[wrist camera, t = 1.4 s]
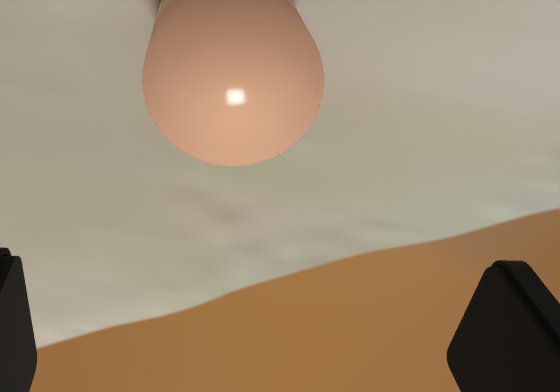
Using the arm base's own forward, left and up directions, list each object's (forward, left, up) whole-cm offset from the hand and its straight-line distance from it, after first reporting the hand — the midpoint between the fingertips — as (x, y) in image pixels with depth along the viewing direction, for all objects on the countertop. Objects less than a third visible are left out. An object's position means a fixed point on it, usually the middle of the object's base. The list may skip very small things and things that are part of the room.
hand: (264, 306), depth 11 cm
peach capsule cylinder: (0, 0, -21) cm, 21 cm away
